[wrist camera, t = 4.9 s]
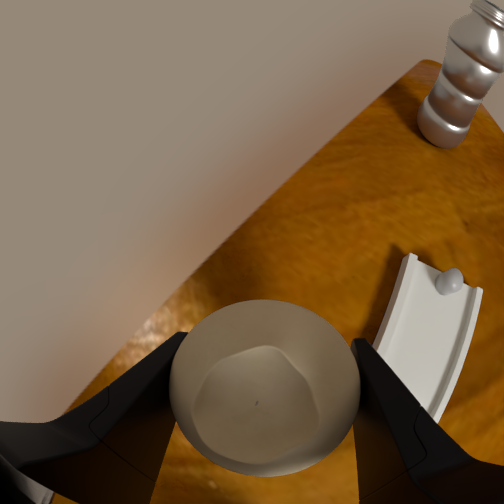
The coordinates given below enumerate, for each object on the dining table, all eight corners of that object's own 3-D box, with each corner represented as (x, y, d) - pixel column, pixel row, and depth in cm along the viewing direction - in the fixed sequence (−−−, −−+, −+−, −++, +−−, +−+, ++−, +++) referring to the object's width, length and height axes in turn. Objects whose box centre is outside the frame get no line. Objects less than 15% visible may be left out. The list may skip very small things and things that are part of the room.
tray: (427, 421, 17) (441, 430, 14) (347, 397, 19) (355, 406, 16) (472, 292, 19) (490, 287, 16) (402, 258, 22) (415, 248, 19)
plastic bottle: (403, 116, 26) (443, -23, 7) (440, 115, 25) (487, -2, 7) (428, 157, 24) (499, 13, 5) (465, 154, 23) (535, 36, 5)
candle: (256, 304, 16) (195, 255, 7) (342, 338, 14) (411, 339, 5) (219, 385, 15) (119, 435, 5) (303, 421, 13) (305, 524, 4)
